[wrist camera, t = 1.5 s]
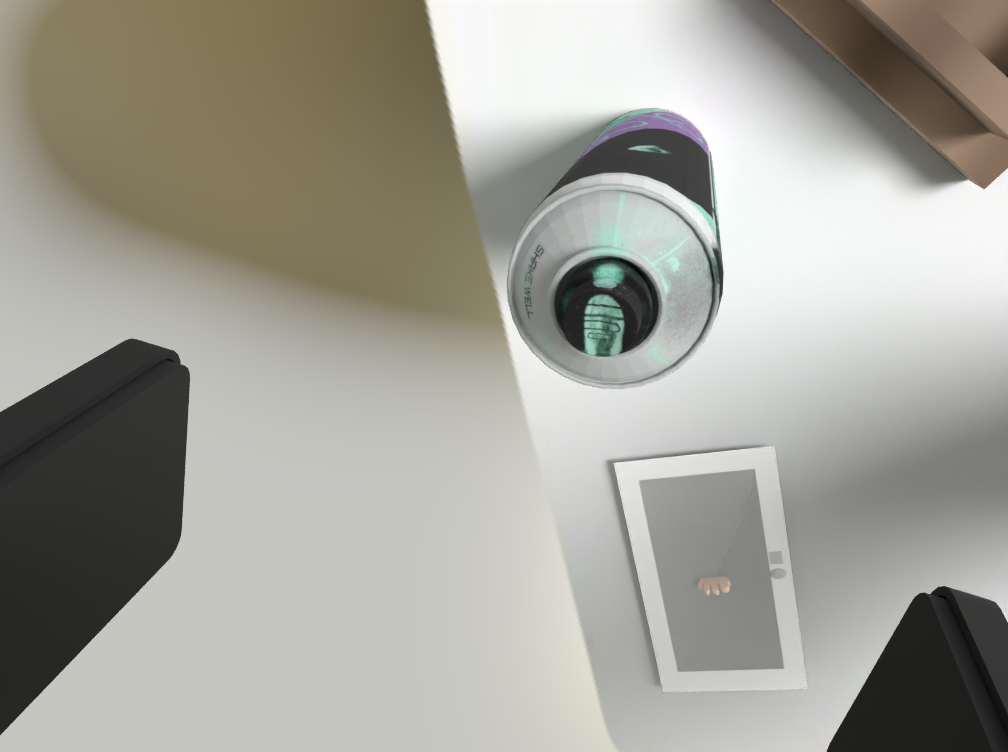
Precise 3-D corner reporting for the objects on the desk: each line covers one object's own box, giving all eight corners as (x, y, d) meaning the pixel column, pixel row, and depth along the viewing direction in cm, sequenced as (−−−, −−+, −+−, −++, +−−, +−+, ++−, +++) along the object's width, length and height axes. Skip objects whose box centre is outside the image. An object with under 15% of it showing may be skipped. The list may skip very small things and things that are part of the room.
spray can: (679, 82, 34) (657, 153, 16) (734, 198, 36) (769, 380, 18) (565, 146, 36) (436, 271, 18) (621, 253, 38) (551, 467, 20)
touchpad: (663, 678, 47) (662, 706, 46) (615, 452, 42) (611, 473, 40) (805, 674, 45) (810, 704, 43) (772, 435, 40) (776, 456, 38)
